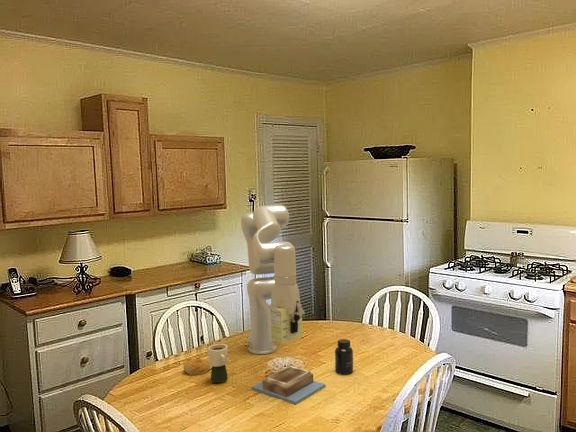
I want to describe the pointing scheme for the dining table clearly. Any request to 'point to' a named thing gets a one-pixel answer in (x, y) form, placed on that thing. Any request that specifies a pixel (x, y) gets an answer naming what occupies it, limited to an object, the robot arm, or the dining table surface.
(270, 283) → the robot arm
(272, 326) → the box
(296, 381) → the tray
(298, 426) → the dining table surface
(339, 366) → the supplement bottle
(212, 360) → the character mug
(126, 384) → the dining table surface
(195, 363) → the bagel
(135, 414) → the dining table surface
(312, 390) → the board
